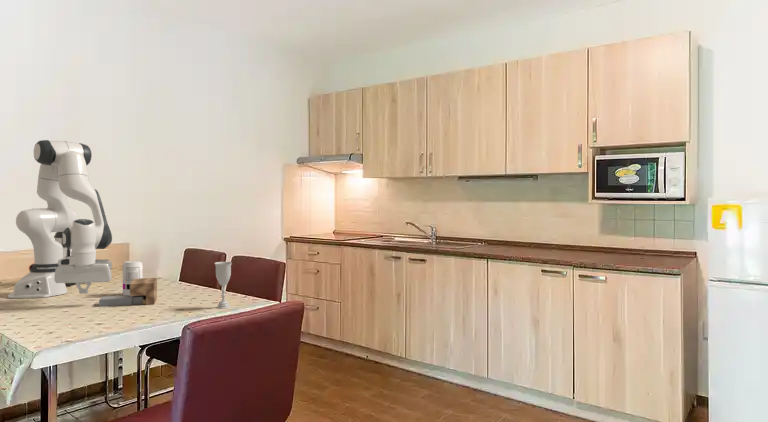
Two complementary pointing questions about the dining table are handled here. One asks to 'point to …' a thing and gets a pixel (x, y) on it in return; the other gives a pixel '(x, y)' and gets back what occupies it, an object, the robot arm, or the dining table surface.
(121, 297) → the board
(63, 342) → the dining table surface
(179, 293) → the dining table surface
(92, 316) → the dining table surface
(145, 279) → the shelf block
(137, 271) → the supplement can
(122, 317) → the dining table surface
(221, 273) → the chalice
